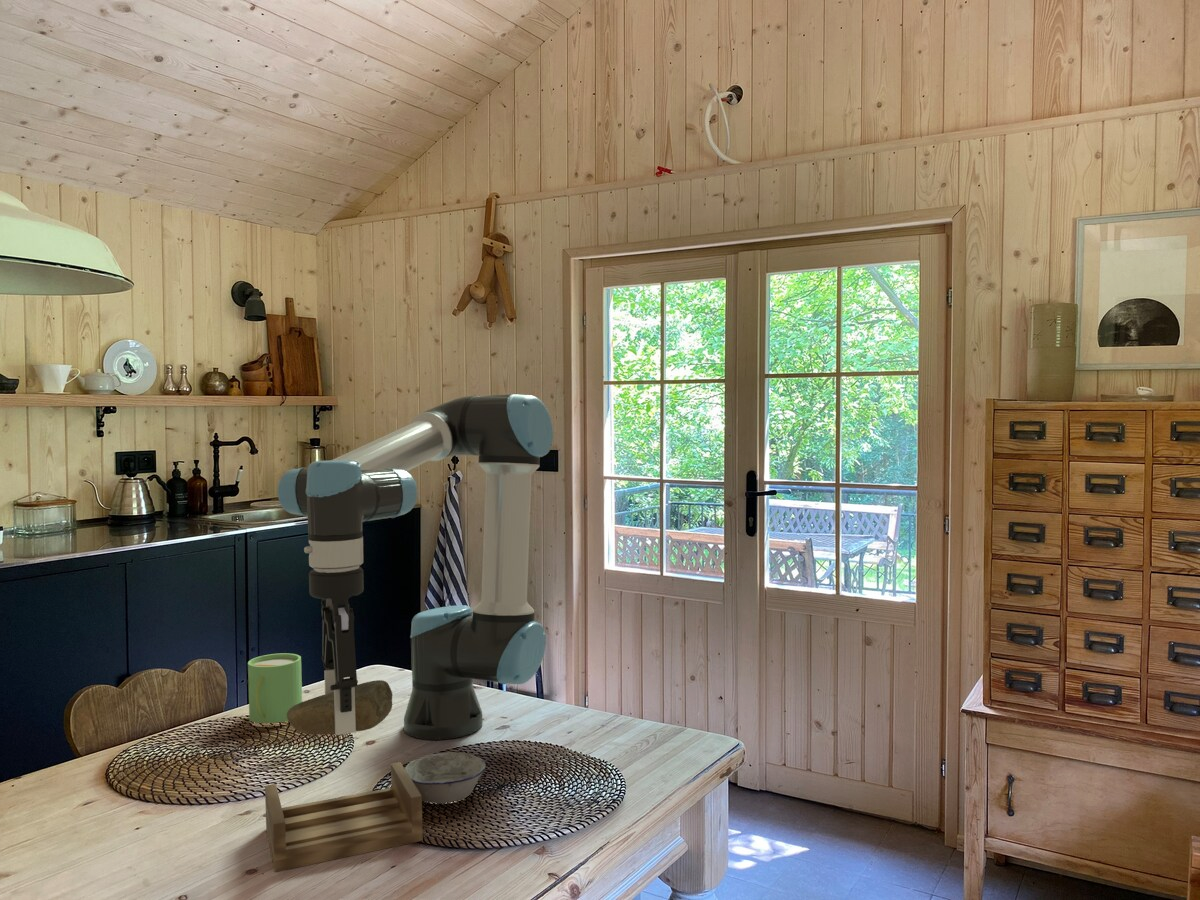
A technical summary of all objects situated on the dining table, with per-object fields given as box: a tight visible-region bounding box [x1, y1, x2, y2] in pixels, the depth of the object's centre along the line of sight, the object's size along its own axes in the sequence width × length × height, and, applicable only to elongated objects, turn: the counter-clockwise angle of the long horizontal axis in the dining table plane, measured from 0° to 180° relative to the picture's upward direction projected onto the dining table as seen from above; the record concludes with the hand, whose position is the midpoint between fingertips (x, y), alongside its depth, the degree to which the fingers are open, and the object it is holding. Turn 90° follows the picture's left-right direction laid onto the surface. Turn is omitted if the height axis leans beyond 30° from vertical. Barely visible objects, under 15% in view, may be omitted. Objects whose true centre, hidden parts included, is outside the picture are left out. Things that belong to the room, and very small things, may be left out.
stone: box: [287, 679, 393, 735], centre depth 131 cm, size 9×14×10 cm, turn 108°
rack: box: [264, 761, 424, 873], centre depth 131 cm, size 20×14×6 cm
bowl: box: [404, 751, 487, 803], centre depth 144 cm, size 13×13×5 cm
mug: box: [245, 652, 303, 724], centre depth 180 cm, size 13×10×12 cm
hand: (340, 722), depth 130 cm, fingers closed on stone, 9 cm apart
